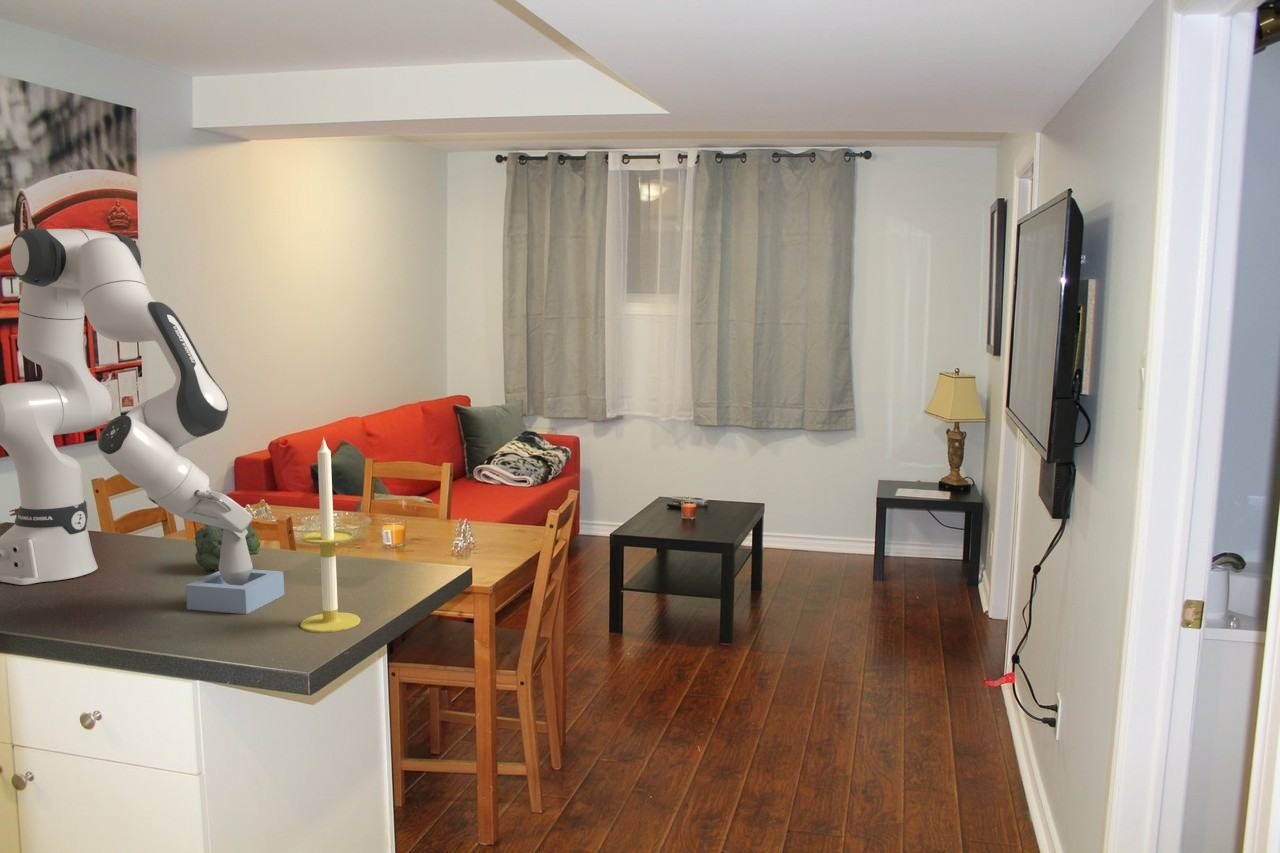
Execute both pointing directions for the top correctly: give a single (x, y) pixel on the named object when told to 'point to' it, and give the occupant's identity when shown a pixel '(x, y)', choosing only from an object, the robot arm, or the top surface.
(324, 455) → the candle
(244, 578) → the salt shaker
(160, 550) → the top surface
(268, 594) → the container
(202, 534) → the vegetable
